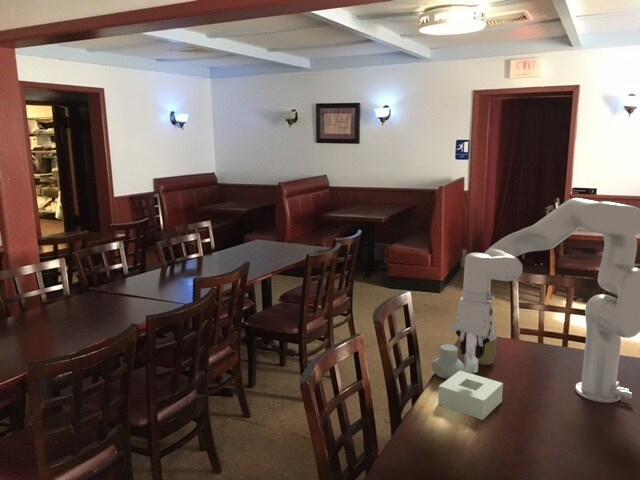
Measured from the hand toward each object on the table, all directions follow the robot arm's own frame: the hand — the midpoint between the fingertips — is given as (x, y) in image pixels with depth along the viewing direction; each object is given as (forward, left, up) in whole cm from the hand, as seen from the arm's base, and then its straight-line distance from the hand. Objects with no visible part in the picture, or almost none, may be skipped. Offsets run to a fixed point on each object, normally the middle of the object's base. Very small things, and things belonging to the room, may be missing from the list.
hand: (471, 354), depth 160 cm
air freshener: (+14, -13, -16) cm, 25 cm away
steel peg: (0, 0, -5) cm, 5 cm away
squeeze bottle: (+9, -31, -16) cm, 36 cm away
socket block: (0, 0, -16) cm, 16 cm away
